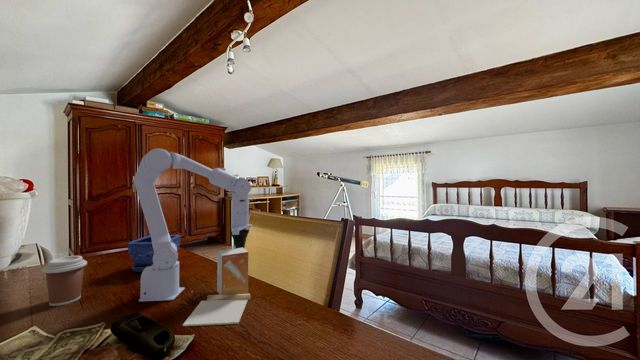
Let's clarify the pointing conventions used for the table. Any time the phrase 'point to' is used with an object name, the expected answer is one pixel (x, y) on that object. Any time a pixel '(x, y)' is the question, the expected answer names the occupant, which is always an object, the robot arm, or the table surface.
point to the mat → (217, 312)
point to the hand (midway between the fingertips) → (240, 251)
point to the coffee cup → (64, 279)
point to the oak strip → (228, 297)
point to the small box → (232, 271)
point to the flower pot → (145, 252)
